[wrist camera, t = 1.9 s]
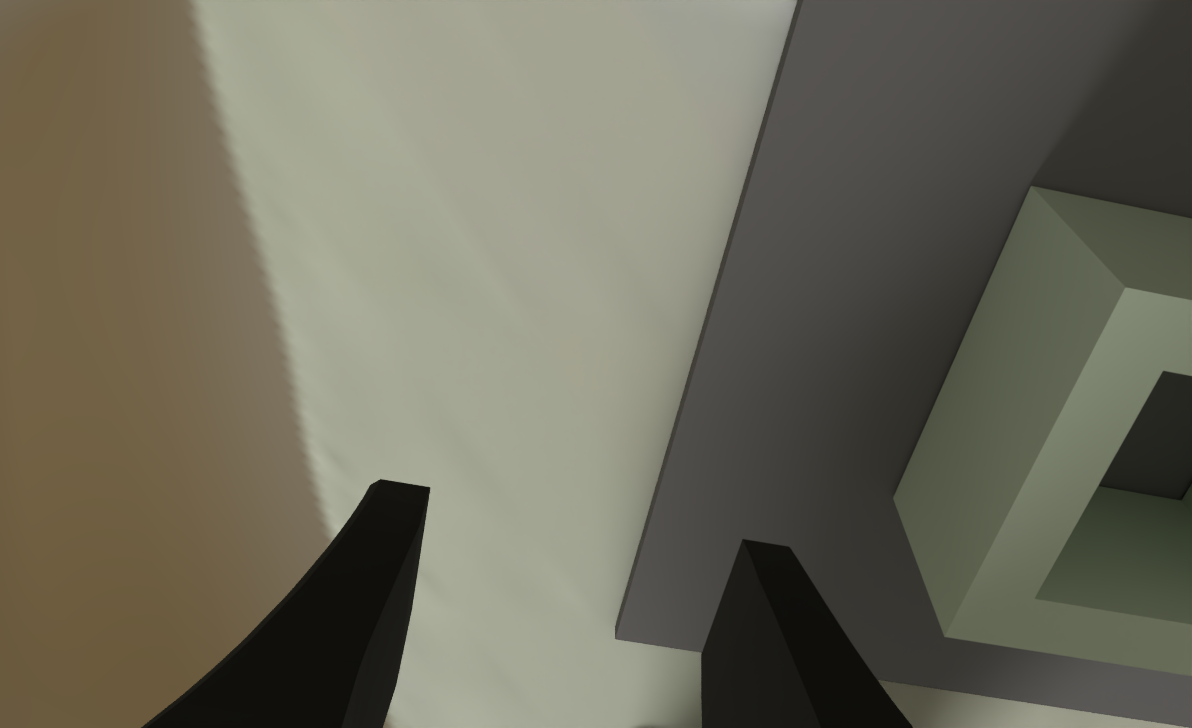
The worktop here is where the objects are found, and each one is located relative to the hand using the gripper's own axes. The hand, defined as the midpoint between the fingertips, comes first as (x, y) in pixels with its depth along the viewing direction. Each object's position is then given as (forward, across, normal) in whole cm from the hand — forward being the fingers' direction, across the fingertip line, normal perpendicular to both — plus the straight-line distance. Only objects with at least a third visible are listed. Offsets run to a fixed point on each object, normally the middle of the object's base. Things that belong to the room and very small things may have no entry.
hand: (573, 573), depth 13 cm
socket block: (+8, -11, 0) cm, 14 cm away
